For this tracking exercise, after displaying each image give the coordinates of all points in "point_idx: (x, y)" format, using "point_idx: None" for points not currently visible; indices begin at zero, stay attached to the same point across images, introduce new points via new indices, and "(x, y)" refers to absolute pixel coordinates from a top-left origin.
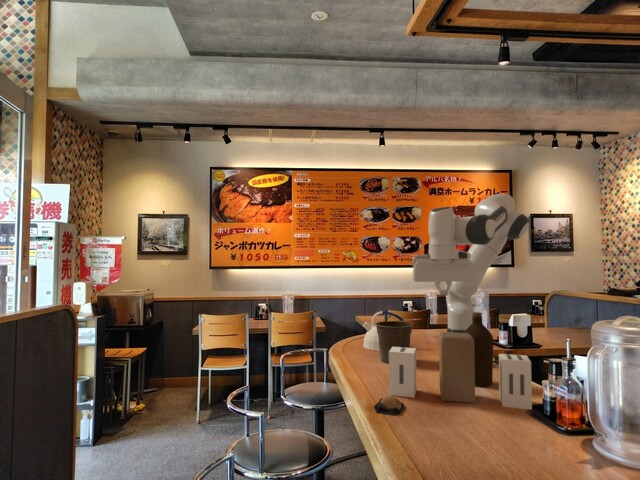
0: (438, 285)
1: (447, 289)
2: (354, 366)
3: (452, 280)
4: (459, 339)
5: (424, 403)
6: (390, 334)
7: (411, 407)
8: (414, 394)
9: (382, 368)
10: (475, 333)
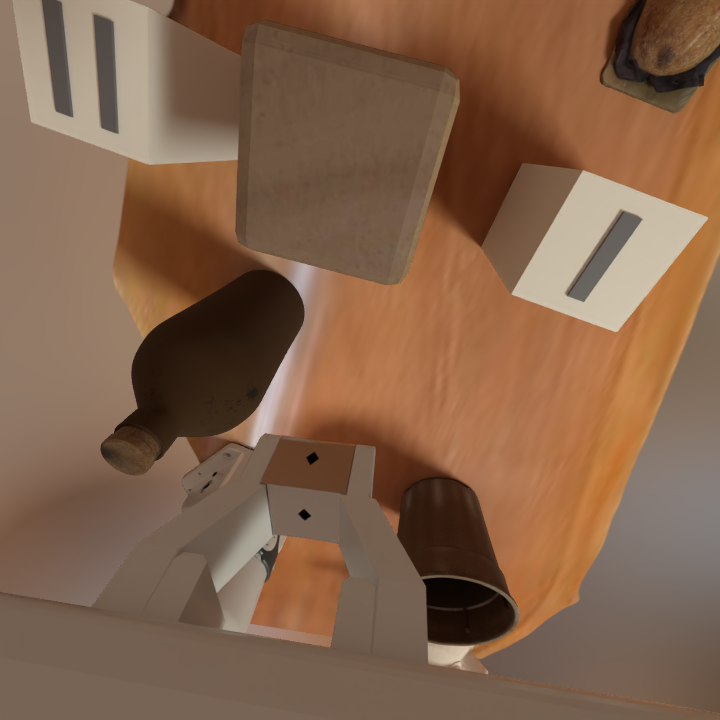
0: (383, 571)
1: (246, 486)
2: (580, 473)
3: (32, 620)
4: (340, 41)
5: (513, 90)
6: (476, 557)
7: (586, 33)
8: (519, 173)
9: (502, 449)
10: (198, 356)
